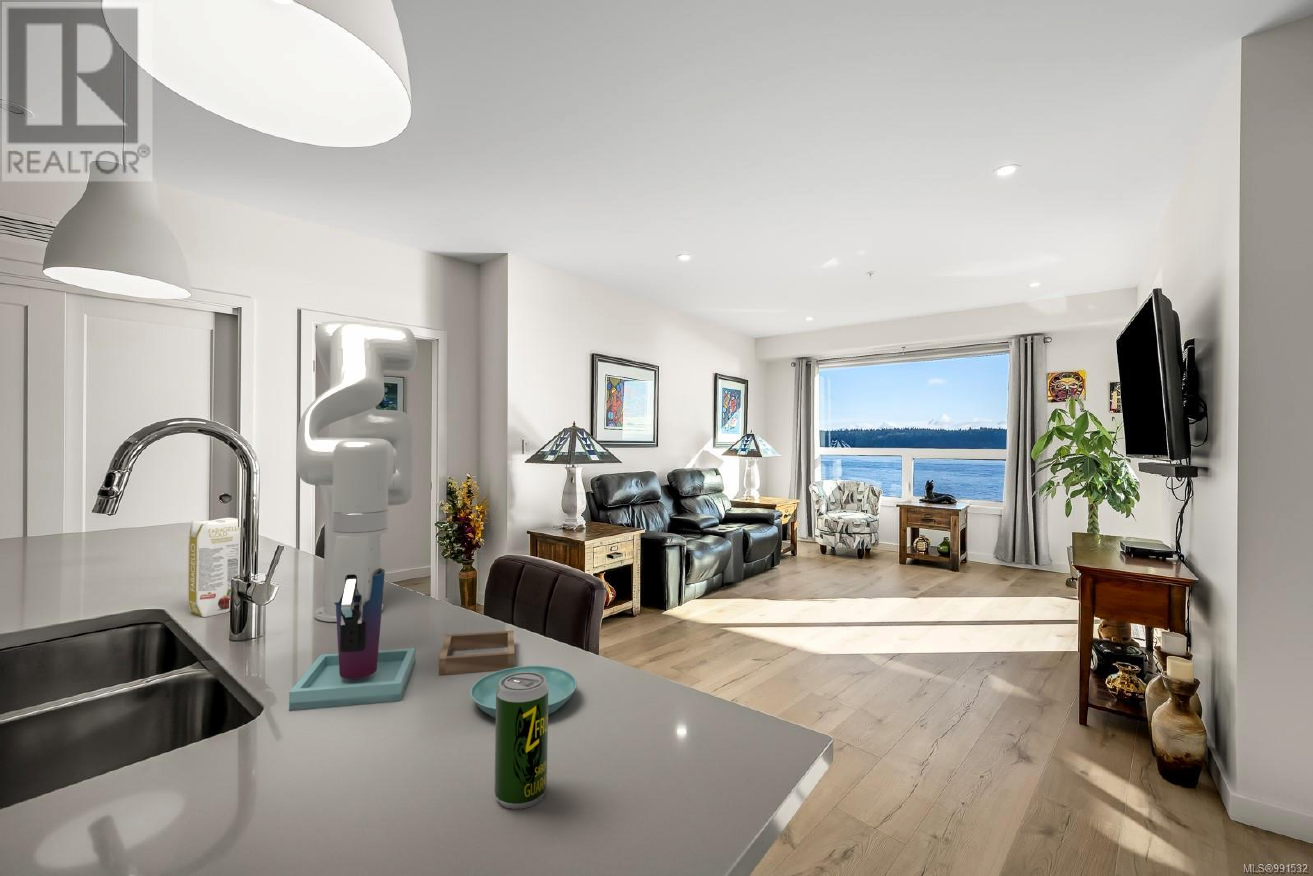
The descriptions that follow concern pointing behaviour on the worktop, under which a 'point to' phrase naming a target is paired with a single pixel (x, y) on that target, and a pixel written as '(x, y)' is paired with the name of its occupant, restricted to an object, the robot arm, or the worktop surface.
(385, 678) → the tray
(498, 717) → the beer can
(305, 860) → the worktop surface
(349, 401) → the robot arm
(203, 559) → the juice carton
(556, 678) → the saucer
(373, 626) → the cup
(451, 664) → the holder
